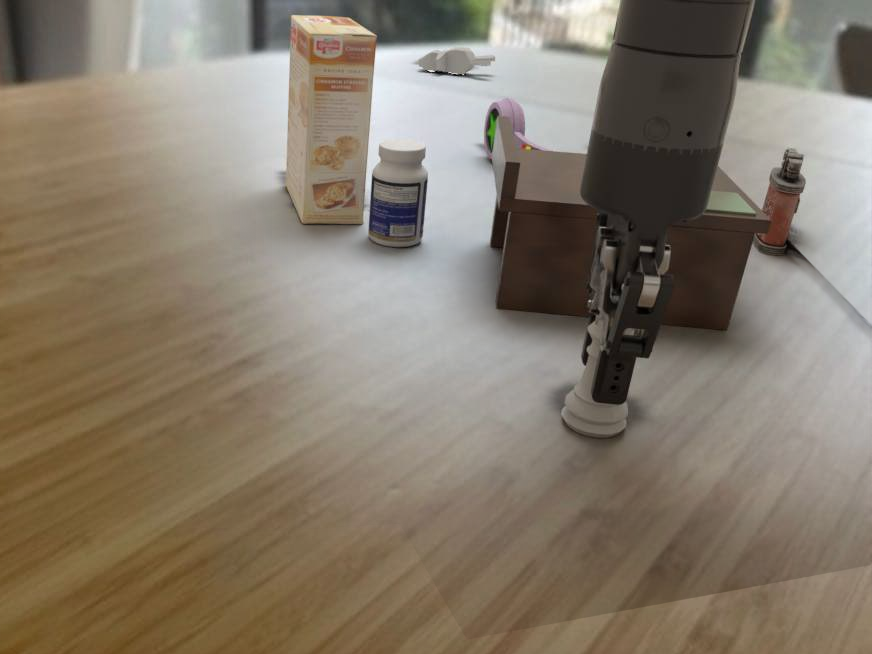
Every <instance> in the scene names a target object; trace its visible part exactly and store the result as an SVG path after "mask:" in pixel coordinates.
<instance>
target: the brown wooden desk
mask: <svg viewBox="0 0 872 654" xmlns="http://www.w3.org/2000/svg"><path fill="white" fill-rule="evenodd" d="M586 156H587V153H581V152H568V151H567V152H566V151H557V150H556V151H555V150H552V151H544V150H531V149H519V148H517V146H516V142H515V138H514V134H513V130H512V125H511V121H510V117H505V116H497V123H496V130H495V138H494V145H493V152H492V159H491V162H492V168H493V169H492V170H493V177H494V185H495V190H496V191H495V192H496V195H495V196H496V197H495V203H494V210H493V215H492V217H493V218H492V224H491V232H490V239H489V245H490V246H489V247H492V248H503V249H502V256H501V260H500V261H501V262H500V269H499V275H498V281H497V288H496V294H495V295H496V297H495V308H496V309H500V310H501V309H502V310H512V311H523V312H534V313H542V314H543V313H545V314H554V315H563V316H564V315H566V316H573V317H574V316H575V317H586V318H589V316H590V314H593V315H594V313H591V312H588V307H587V301H588V300H589V298H590V294H587V289H586V288H585V287H586V282H587V281H588V275H589V268H590V261H591V255H592V248H593V241H594V235H595V228H596V214H597V213H598V211H599V210H596V209H594V208H593V207H591V206H589V205H588V204H587V203H586V202H585V201H584V200H583V199H582V197H581V194H580V188H581V182H582V177H583V172H584V166H585V161H586ZM771 222H772V220H771V219H770V218H769V217H768V216H767V215H766V214H765V213H764V212H763V211H762V209H761V208H760V206H758V205H757V204H756V203H755V202H754V201H753V200H752V198H751V197H749V196H748V195H747V193H745V191H743V190H742V189H741V188H740V187H739V185H737V184H736V182H735V181H734V180H733V179H732V178H731V177H730V176H729V175H727V173H726V172H724V170H723V169H722V168H721V167H720V166H719V165H718V167H717V170H716V174H715V178H714V182H713V186H712V190H711V194H710V198H709V201H708V205H707V209H706V211H705V212H704V213H703V214H702V215H701V216H700V217H698V218H696V219H694V220H690V221H686V222H683V221H680V222H677V223H674V224H672V225H671V226H669V227H668V230H667V231H666V234H667V238H666V244H665V245H670V247H671V254H670V261H669V267H668V270H667V271H666V272H665V273H664V274H665V275H673V276H674V282H675V287H674V290H673V291H672V294H671V297H670V300H669V303H668V306H667V309H666V312H665V314H664V317H663V320H662V323H661V325H668V326H669V325H670V326H679V327H690V328H700V329H701V328H702V329H709V330H710V329H711V330H720V331H721V330H722V331H727V330H729V326H730V322H731V319H732V315H733V312H734V309H735V305H736V301H737V298H738V296H739V295H738V294H739V291H740V288H741V284H742V280H743V277H744V273H745V271H746V267H747V263H748V260H749V256H750V252H751V250H752V246H753V239H754V236H755V233H759V234H768V232H769V229H770V225H771ZM602 270H603V269H602Z"/></svg>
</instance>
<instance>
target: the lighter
mask: <svg viewBox="0 0 872 654" xmlns="http://www.w3.org/2000/svg"><path fill="white" fill-rule="evenodd" d="M804 155H805V154H804V153H798V150H797V149H796V148H795V147H794V148H793V147H787V148H786V149H784V153H783V157H782V161H781V165H780V167H779V166H778V167H777V166H776V167H775V166H774V167H773V168H772V169H771V171H770V174H769V178H768V181H769V183H768V184H769V185H768V188H767V191H766V195H765V198H764V202H763V205H762V209H761V210H762V211H763V212H764V213H765V214H766V215H767V216H768V217H769V218H770V219H771V220H772V222H771V225H770V229H769V232H768V234H759V233H755V236H754V239H753V243H752V245H753V246H754V247H755V248H756V249H757V251H759V252H761V253H763V254H766V255H772V256H782V255H784V254H785V251H786V248H787V245H788V235H789V232H790V228H791V225H792V222H793V219H794V216H795V215H796V214H797V212H798V210H799V206H800V203H801V197H800V196H801V194H803V193H804V190H805V188H806V184H807V181H806V178H805V176H804V175H803V174H802V173H801V169H802V166H803V163H804V158H805V156H804Z"/></svg>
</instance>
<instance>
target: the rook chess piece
mask: <svg viewBox="0 0 872 654" xmlns="http://www.w3.org/2000/svg"><path fill="white" fill-rule="evenodd" d="M603 321H604V315H603V313H601V312H600V314H599V315H596V319H595V321H594V322H593V323H592V324H590V325H589V326H588V332H589V334H590V336H591V338H592V343H591V345H590V346H588V347H587V352H588V354H589V356H588V361H587V364H586V366H584V369H583V372H582V375H581V377H580V380H579V381H578V383H576V384H575V385H574V386H573V389H572V390H571V391H569V392H568V393H567V394H566V396H565V398H564V405H565V406H563V408H562V410H561V414H560V415H561V417H562V418H563V420H564V422H565V424H566V425H567V427H568V428H570V429H571V430H573V431H574V432H576V433H578V434H580V435H583V436H586V437H591V438H596V439H601V438H602V439H604V438H606V439H607V438H611V437H614V436H617V435H618V434H619V433H621V432H622V431H623V430H625V428H627V419H626V418H627V417H628V415H629V405H628V403H627V402H626V401H625V402H624V403H623V404H621V405H614V404H604V403H597V402H595V401H594V400H593V399H592V395H591V387H592V383H593V378H594V373H595V369H596V364H597V360H598V355H599V350H600V345H599V340H600V338H601V335H602V328H603ZM623 334H626V335H633V334H634V328H627V329H625V330H624V332H623Z"/></svg>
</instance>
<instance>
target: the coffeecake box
mask: <svg viewBox="0 0 872 654" xmlns="http://www.w3.org/2000/svg"><path fill="white" fill-rule="evenodd" d="M377 40H378V35H376V34H375V33H374V32H373V31H370V30H369V29H367V28H365V27H364V26H362V25H361V24H359V23H358V22H356V21H355V20H353V19H352V18H350V17H347V16H346V17H345V16H335V15H303V14H302V15H299V14H291V15H290V40H289V41H290V43H289V44H290V46H289V69H288V70H289V73H288V99H287V100H288V104H287V137H286V163H285V187H286V189H287V191H288V193H289V196H290V199H291V201H292V203H293V205H294V207H295V210H296V212H297V215H298V217H299V219H300V221H301V224H305V225H307V224H310V225H311V224H324V225H325V224H326V225H328V224H331V225H332V224H333V225H364V212H365V211H364V210H365V209H364V208H365V194H366V183H367V182H366V181H367V170H368V169H367V168H368V156H369V142H370V131H371V130H370V128H371V115H372V101H373V89H374V88H373V87H374V75H375V74H374V73H375V64H376V63H375V62H376V52H377V51H376V50H377Z"/></svg>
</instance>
